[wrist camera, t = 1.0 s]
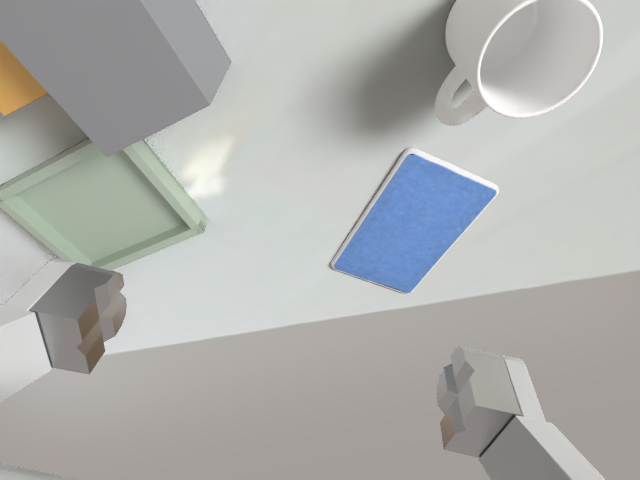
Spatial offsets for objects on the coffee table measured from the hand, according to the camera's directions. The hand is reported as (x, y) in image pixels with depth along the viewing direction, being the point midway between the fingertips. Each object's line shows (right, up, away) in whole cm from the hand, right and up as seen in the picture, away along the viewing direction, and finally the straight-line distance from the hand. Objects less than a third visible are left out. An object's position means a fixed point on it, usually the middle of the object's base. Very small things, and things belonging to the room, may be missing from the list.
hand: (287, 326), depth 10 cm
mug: (+15, +20, +28) cm, 37 cm away
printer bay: (-15, +22, +25) cm, 37 cm away
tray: (-24, +6, +38) cm, 46 cm away
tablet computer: (+12, +4, +42) cm, 44 cm away
